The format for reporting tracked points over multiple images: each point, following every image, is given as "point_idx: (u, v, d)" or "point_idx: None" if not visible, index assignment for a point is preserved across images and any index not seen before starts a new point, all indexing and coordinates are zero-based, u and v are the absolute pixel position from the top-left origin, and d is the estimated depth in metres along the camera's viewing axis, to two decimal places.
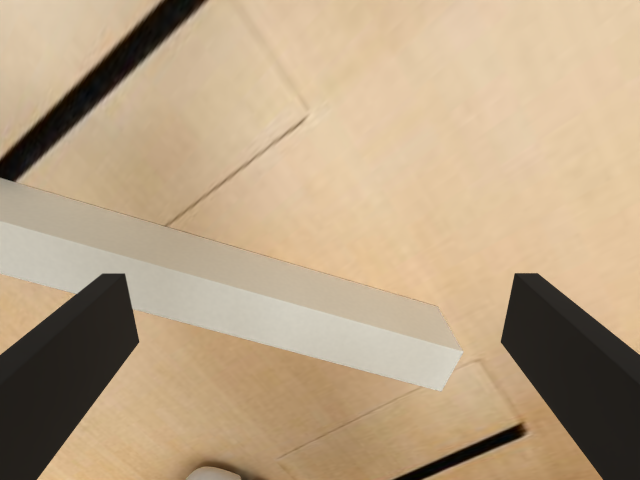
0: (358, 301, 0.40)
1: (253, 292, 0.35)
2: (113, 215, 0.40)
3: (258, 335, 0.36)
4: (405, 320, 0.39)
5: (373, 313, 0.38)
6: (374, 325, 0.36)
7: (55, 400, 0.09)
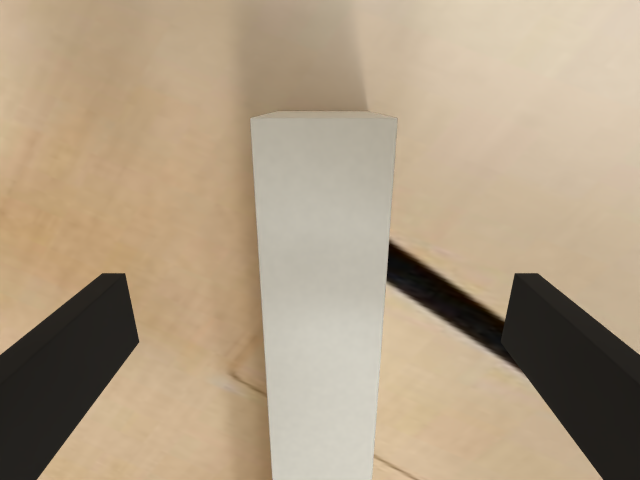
0: None
1: None
2: None
3: None
4: None
5: None
6: None
7: (55, 400, 0.09)
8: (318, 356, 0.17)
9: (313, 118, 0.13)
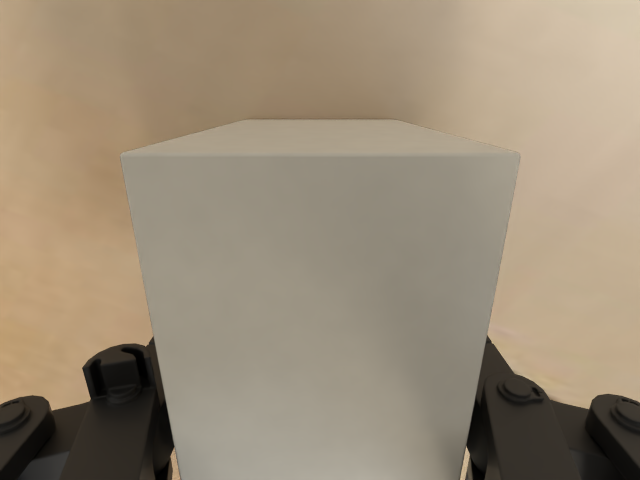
0: None
1: None
2: None
3: None
4: None
5: None
6: None
7: None
8: None
9: (292, 154, 0.05)
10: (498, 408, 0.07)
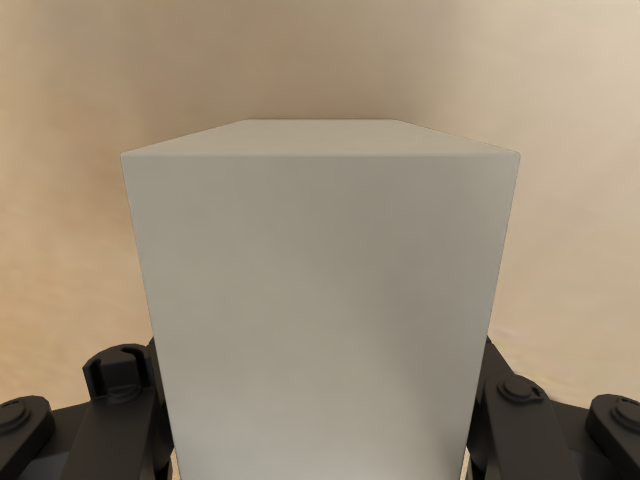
0: None
1: None
2: None
3: None
4: None
5: None
6: None
7: None
8: None
9: (292, 154, 0.05)
10: (498, 408, 0.07)
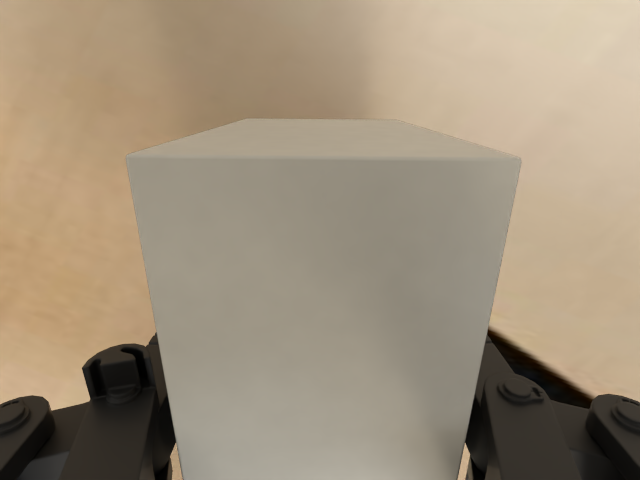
0: None
1: None
2: None
3: None
4: None
5: None
6: None
7: None
8: None
9: (296, 157, 0.05)
10: (498, 408, 0.07)
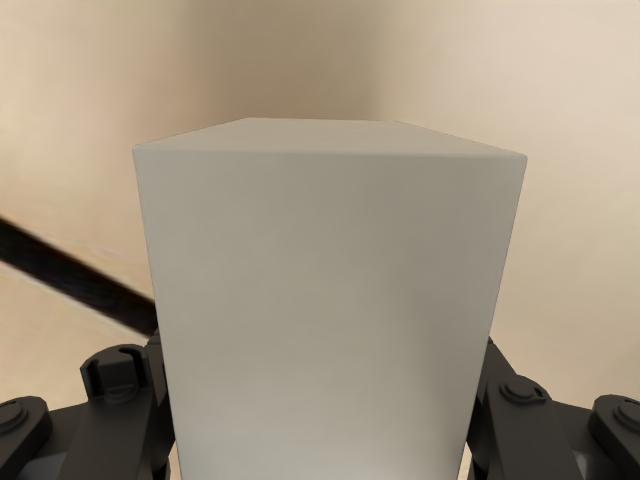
0: None
1: None
2: None
3: None
4: None
5: None
6: None
7: None
8: None
9: (303, 151, 0.05)
10: (500, 408, 0.07)
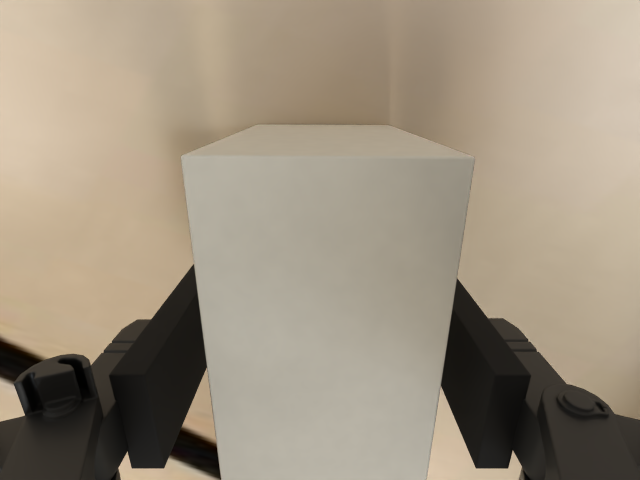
0: None
1: None
2: None
3: None
4: None
5: None
6: None
7: (191, 355, 0.11)
8: None
9: (307, 156, 0.07)
10: (558, 420, 0.07)
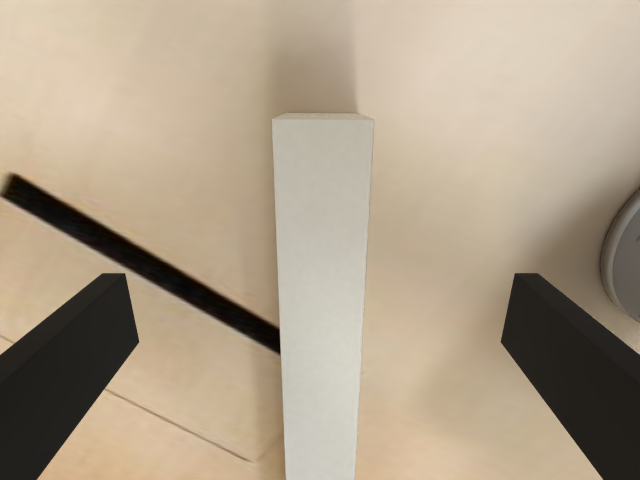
0: None
1: None
2: None
3: None
4: None
5: None
6: None
7: (55, 400, 0.09)
8: (318, 296, 0.23)
9: (315, 119, 0.19)
10: None
